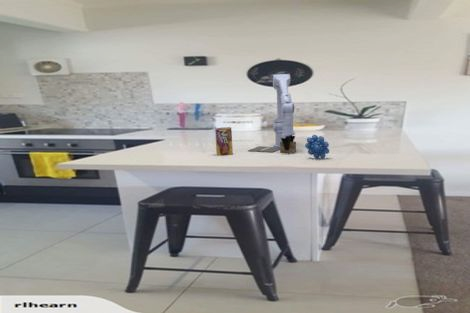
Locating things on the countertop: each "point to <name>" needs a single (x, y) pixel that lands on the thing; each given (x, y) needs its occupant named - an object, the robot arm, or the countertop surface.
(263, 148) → the mat
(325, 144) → the blue knobbed wheel
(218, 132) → the candy box
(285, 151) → the walnut block
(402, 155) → the countertop surface
